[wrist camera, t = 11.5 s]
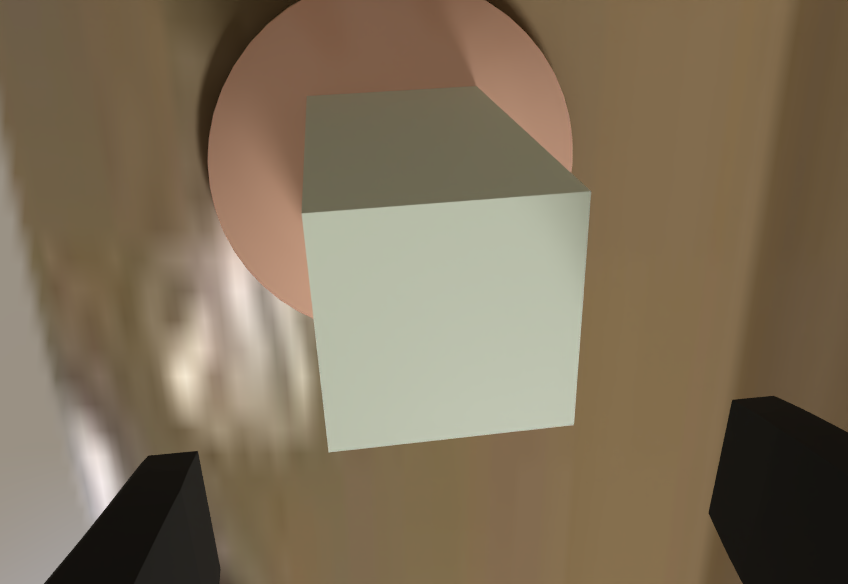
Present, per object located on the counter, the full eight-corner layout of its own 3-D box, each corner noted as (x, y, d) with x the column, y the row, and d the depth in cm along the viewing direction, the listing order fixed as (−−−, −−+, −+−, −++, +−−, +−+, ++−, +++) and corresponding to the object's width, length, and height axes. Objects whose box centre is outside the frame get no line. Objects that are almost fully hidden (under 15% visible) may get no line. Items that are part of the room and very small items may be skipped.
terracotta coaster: (577, -32, 17) (585, -31, 16) (555, 309, 21) (561, 318, 20) (181, -19, 16) (176, -18, 15) (237, 336, 20) (236, 348, 19)
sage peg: (476, 86, 17) (591, 191, 10) (476, 241, 19) (574, 425, 12) (306, 96, 17) (301, 214, 10) (322, 254, 19) (328, 452, 11)
